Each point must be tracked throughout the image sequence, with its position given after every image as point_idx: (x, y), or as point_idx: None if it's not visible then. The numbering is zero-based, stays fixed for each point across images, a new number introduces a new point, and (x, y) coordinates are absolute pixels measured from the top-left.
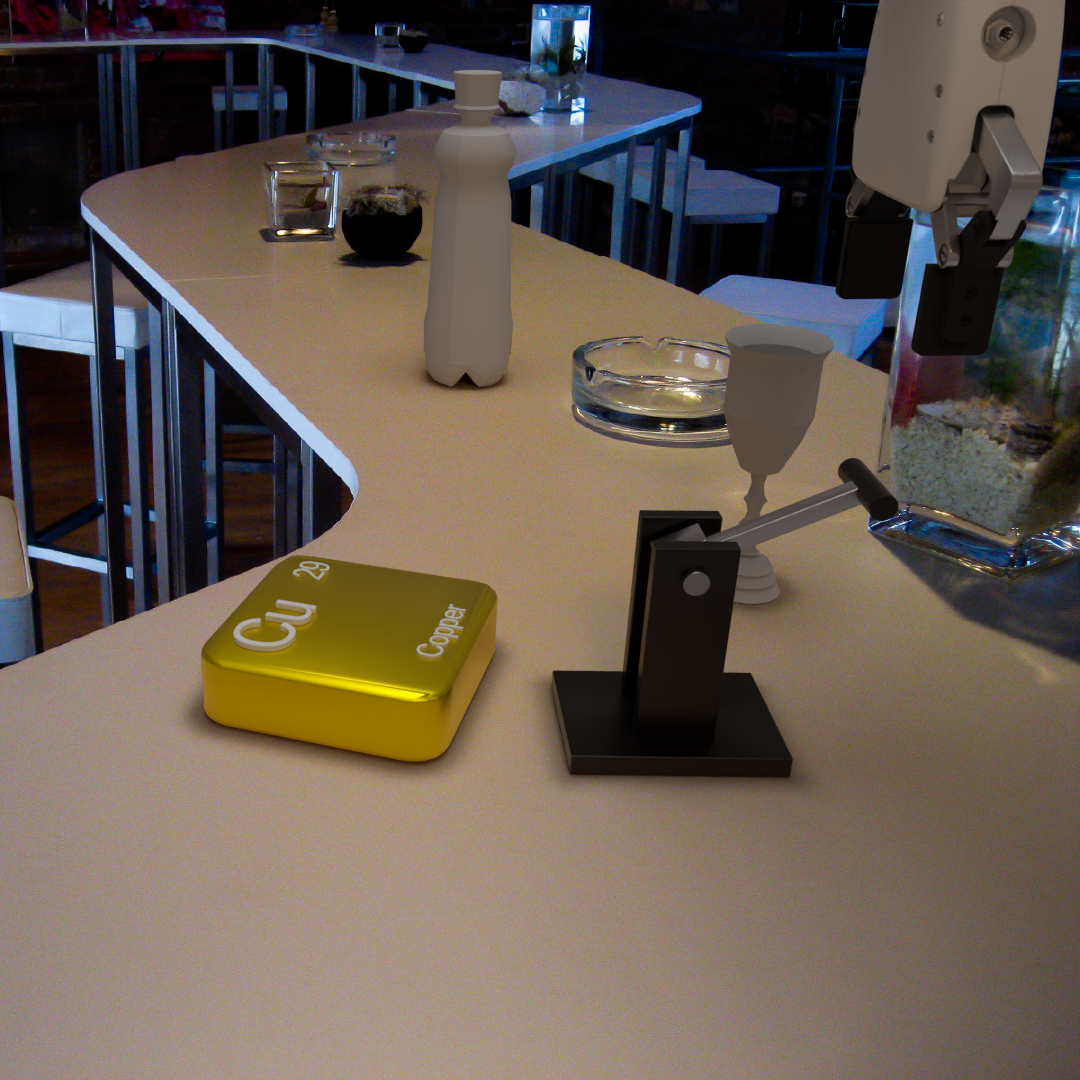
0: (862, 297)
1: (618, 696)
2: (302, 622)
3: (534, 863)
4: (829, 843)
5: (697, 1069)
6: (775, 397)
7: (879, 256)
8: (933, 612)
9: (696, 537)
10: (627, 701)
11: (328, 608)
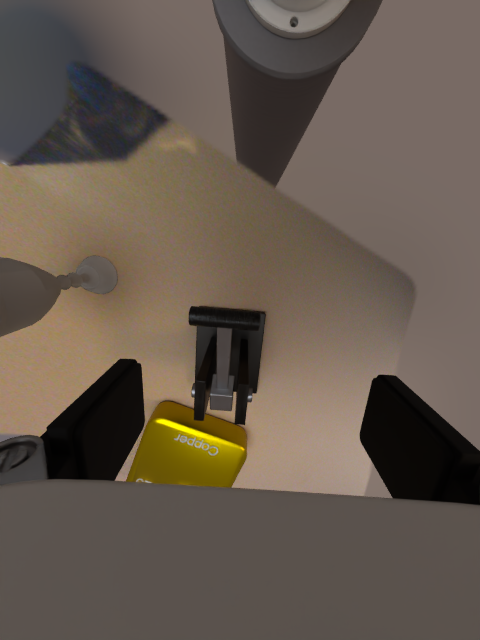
0: (143, 403)
1: (216, 368)
2: None
3: (302, 408)
4: (305, 312)
5: None
6: (28, 309)
7: (117, 428)
8: (119, 175)
9: (225, 398)
10: None
11: (176, 480)
